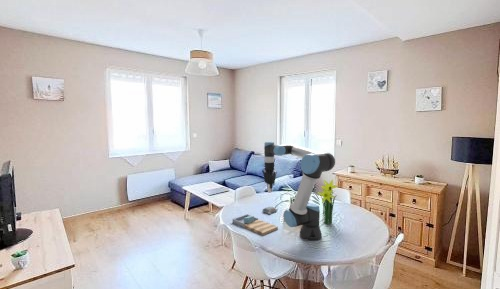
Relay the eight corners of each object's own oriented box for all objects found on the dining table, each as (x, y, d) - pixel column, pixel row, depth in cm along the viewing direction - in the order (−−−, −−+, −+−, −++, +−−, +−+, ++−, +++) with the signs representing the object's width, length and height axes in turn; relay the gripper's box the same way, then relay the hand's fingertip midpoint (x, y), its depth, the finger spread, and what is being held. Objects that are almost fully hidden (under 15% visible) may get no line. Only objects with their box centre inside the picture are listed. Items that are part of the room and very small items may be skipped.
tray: (258, 221, 214) (258, 218, 214) (243, 227, 203) (243, 223, 203) (247, 217, 223) (247, 214, 223) (232, 222, 212) (232, 219, 212)
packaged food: (278, 212, 235) (278, 207, 234) (269, 216, 227) (269, 210, 226) (270, 210, 241) (270, 204, 241) (261, 213, 233) (261, 208, 232)
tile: (254, 221, 210) (253, 216, 210) (249, 223, 205) (248, 218, 206) (249, 221, 214) (248, 216, 214) (244, 223, 210) (243, 218, 210)
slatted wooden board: (277, 229, 199) (277, 226, 199) (263, 235, 188) (263, 232, 188) (258, 222, 214) (258, 219, 213) (244, 227, 202) (244, 224, 202)
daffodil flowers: (331, 230, 197) (332, 183, 194) (313, 225, 207) (314, 180, 204) (341, 223, 210) (342, 179, 207) (324, 219, 219) (324, 177, 217)
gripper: (279, 162, 201) (279, 192, 203) (266, 160, 210) (266, 190, 212) (273, 163, 196) (273, 194, 197) (259, 161, 205) (260, 192, 206)
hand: (269, 192), depth 205 cm, fingers closed
